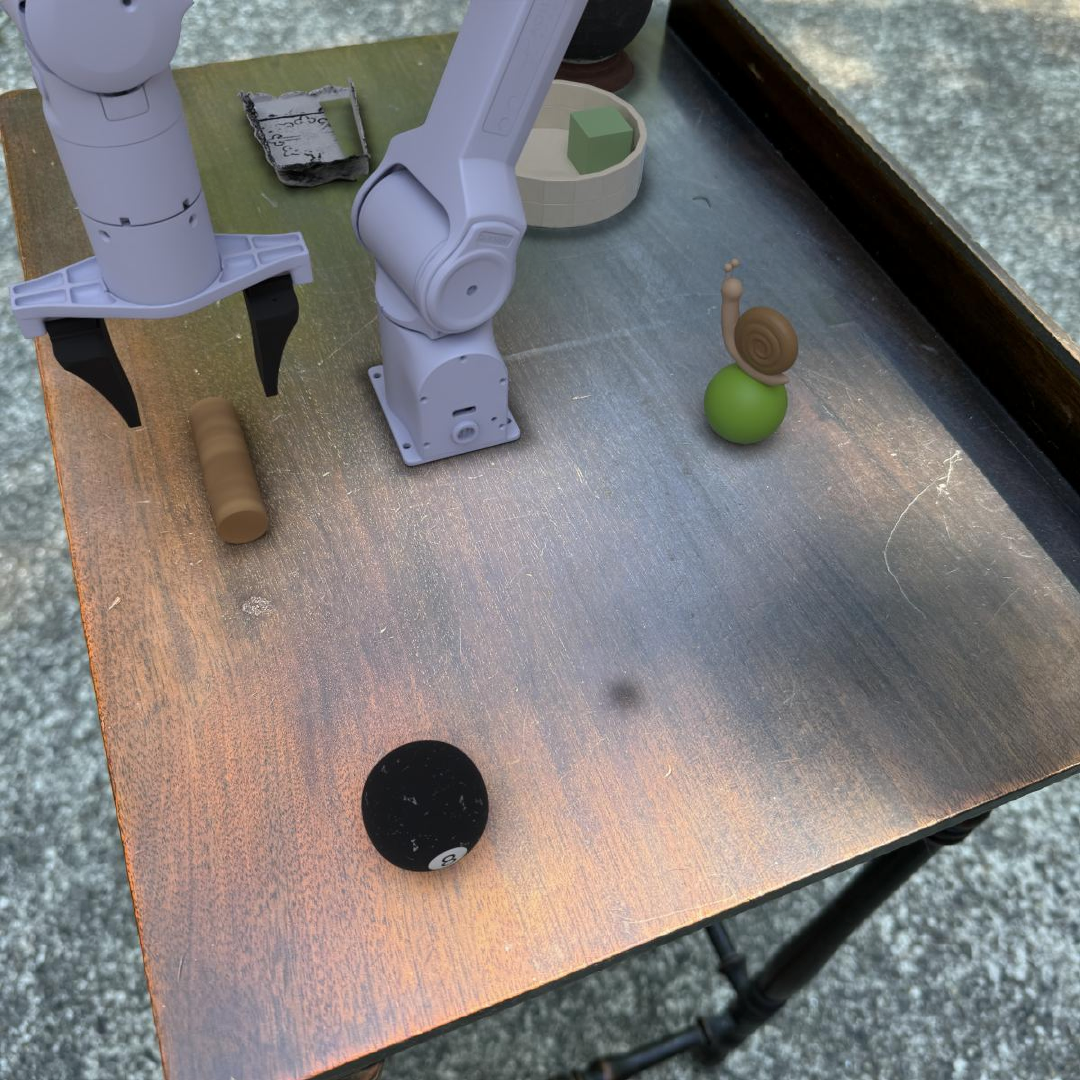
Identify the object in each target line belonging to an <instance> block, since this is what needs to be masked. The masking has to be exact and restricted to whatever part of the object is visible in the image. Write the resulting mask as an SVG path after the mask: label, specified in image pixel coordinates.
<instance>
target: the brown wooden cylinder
mask: <svg viewBox="0 0 1080 1080" xmlns="http://www.w3.org/2000/svg"><path fill="white" fill-rule="evenodd" d="M187 418H188V421H189V425H190V429H191V430H190V431H191V434H192V437H193V442H194V446H195V448H196V449H195V450H196V453H197V457H198V461H199V465H200V469H201V473H202V476H203V480H204V484H205V488H206V492H207V496H208V500H209V504H210V509H211V512H212V515H213V516H212V517H213V520H214V524H215V528H216V532H217V534H218V537H219V538H220V539H222V540H223V541H225V542H226V543H230V544H235V545H236V544H237V545H238V544H247V543H250V542H253V541H256V540H257V539H259V538H260V537H262V536H263V535H264V534H265V533H266V531H267V530H268V528H269V523H270V522H269V517H268V513H267V511H266V508H265V504H264V501H263V497H262V492H261V490H260V487H259V483H258V480H257V476H256V473H255V470H254V467H253V463H252V459H251V457H250V453H249V450H248V446H247V443H246V442H247V441H246V439H245V436H244V432H243V428H242V425H241V422H240V419H239V414H238V412H237V409H236V406H235V404H234V403H233V402H232V401H230V400H229V399H228V398H225V397H222V396H208V397H204V398H202V399H199V400H198V401H197V402H194V404H192V406H191V407H190V409H189V411H188V417H187Z"/></svg>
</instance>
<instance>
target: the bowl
mask: <svg viewBox="0 0 1080 1080" xmlns="http://www.w3.org/2000/svg"><path fill="white" fill-rule="evenodd" d="M607 106H614V107H615V108H616V109H617V110H618V112H619V113H620V114H621V115H622V117H623V118H624V119H625V120H626V122H627V123H628V124H629V125H630V127H631V128H632V129H633V135H632V143H631V151H630V155H629V156H628V157H627V158H626V159H624V160H623V161H622V162H621V163H619V164H617V165H614V166H612V167H610V168H607V169H605V170H603V171H601V172H596V173H590V174H585V175H580V174H579V172H578V171H577V169H576V168H575V167H574V165H573V164H572V162H571V161H570V160H569V158H568V157H567V150H568V136H569V122H570V113H572V112H577V111H583V110H589V109H595V108H601V107H607ZM647 142H648V133H647V127H646V123H645V120H644V118H643V117H642V116H641V115H640V114H639V112H638V111H637V110H636V109H635V108H634V106H633V105H631V104H630V103H629V102H627V101H626V100H624V99H623V98H620V97H619V96H617V95H616V94H614V93H611V92H608V91H605V90H602V89H600V88H597V87H594V86H591V85H588V84H583V83H577V82H572V81H566V80H553V82H552V84H551V86H550V89H549V91H548V93H547V95H546V98H545V100H544V102H543V105H542V107H541V109H540V111H539V114H538V116H537V118H536V121H535V123H534V125H533V127H532V130H531V132H530V134H529V137H528V139H527V141H526V143H525V146H524V148H523V150H522V152H521V155H520V157H519V159H518V162H517V164H516V166H515V174H516V180H517V184H518V188H519V192H520V196H521V201H522V205H523V209H524V213H525V217H526V224H527V226H530V227H531V226H532V227H537V228H538V227H540V228H550V229H551V228H552V229H553V228H554V229H555V228H556V229H557V228H558V229H563V228H565V229H566V228H575V227H582V226H583V227H584V226H588V225H591V224H595V223H596V224H597V223H600V222H602V221H605V220H607V219H609V218H612V217H613V216H616V215H617V214H619V213H621V212H623V210H624V209H626V208H627V207H628V206H629V205H630V204H631V203H632V202H633V201H634V200H635V199H636V197H637V195H638V193H639V189H640V186H641V183H642V181H643V180H642V179H643V172H644V164H645V157H646V150H647V144H648V143H647Z"/></svg>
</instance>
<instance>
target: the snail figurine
mask: <svg viewBox="0 0 1080 1080" xmlns="http://www.w3.org/2000/svg"><path fill="white" fill-rule="evenodd" d="M739 265H740V261H739V259H738V258H733V259H732V260H730V262H726V263H725V264H724V266H723V269H722V270H723V271H724V272H725V273H724V279H723V281H722V283H721V286H720V294H721V305H720V325H721V336H722V339H723V343H724V347H725V349H726V351H727V353H728V355H729V356H730V357H731V358H732V359H733V361H734V362H732V363H730V364H727V365H726V366H724V367H722V368H721V369H719V370H718V372H716V373H715V374H714V375H713V377H712V378H711V379H710V381H709V382H708V384H707V386H706V389H705V392H704V397H703V410H704V415H705V418H706V420H707V423H708V424H709V426H710V428H711V429H712V430H713V431H714V432H715V433H716V434H717V435H718V436H720V437H721V438H723V440H726V441H728V442H730V443H733V444H734V443H735V444H741V445H748V444H754V443H758V442H761V441H763V440H765V439H767V438H768V437H771V435H773V434H774V433H775V432H776V431H777V430H778V429H779V428H780V427H781V425H782V423H783V421H784V419H785V417H786V415H787V410H788V405H789V403H788V402H789V398H788V392H787V388H786V384H788V383H790V381H791V380H790V377H788V375H787V374H784V373H785V372H787V371H789V370H790V369H791V368H792V367H793V366H794V364H795V363H796V361H797V358H798V355H799V340H798V336H797V333H796V331H795V328H794V327H793V324H792V323H791V322H790V321H789V319H787V317H785V316H784V315H783V314H782V313H781V312H780V311H778V310H776V309H774V308H771V307H768V306H761V305H759V306H753V307H751V308H749V309H747V310H746V311H744V312H742V314H740V313H741V312H740V299H741V297H742V296H743V294H744V287H743V284H742V282H741V281H740V280H739V279H737V278H736V277H733V275H734V274H733V273H734V269H735V268H738V267H739ZM730 272H731V273H730ZM728 273H730V277H727V274H728Z"/></svg>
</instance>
